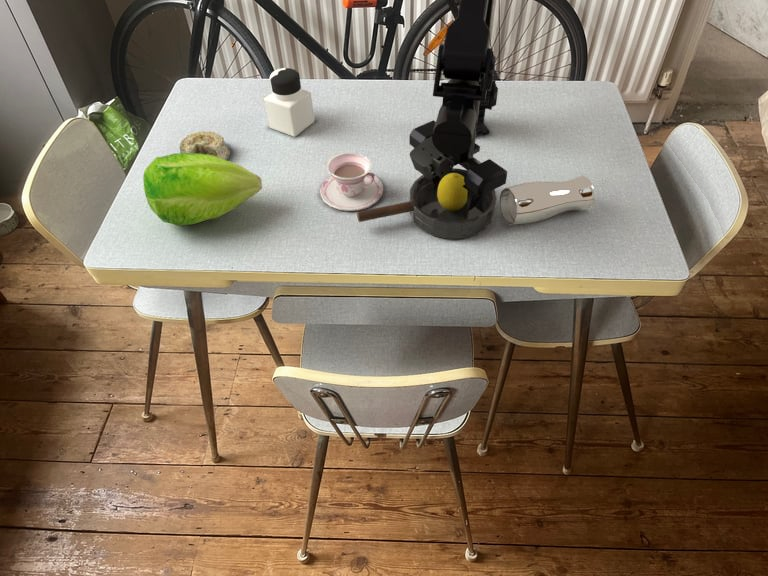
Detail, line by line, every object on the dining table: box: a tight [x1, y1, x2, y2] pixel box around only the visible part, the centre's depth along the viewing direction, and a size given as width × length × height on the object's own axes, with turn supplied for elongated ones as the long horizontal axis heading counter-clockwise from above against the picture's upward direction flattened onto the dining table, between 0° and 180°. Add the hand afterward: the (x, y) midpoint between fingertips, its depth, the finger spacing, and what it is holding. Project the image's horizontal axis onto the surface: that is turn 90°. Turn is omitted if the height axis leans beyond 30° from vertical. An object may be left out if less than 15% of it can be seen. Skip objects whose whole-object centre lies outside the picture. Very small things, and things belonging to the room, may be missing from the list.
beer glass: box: [499, 175, 595, 226], centre depth 101 cm, size 7×7×15 cm
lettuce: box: [142, 152, 263, 226], centre depth 101 cm, size 14×20×12 cm
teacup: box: [319, 152, 384, 212], centre depth 107 cm, size 12×12×6 cm
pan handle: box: [356, 200, 414, 223], centre depth 100 cm, size 2×10×2 cm, turn 106°
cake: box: [179, 130, 231, 160], centre depth 116 cm, size 10×10×5 cm
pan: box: [409, 167, 498, 240], centre depth 103 cm, size 15×15×4 cm
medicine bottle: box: [263, 67, 315, 138], centre depth 120 cm, size 7×7×12 cm
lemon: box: [437, 173, 468, 211], centre depth 101 cm, size 6×6×8 cm
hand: (452, 195), depth 102 cm, fingers open, 9 cm apart
